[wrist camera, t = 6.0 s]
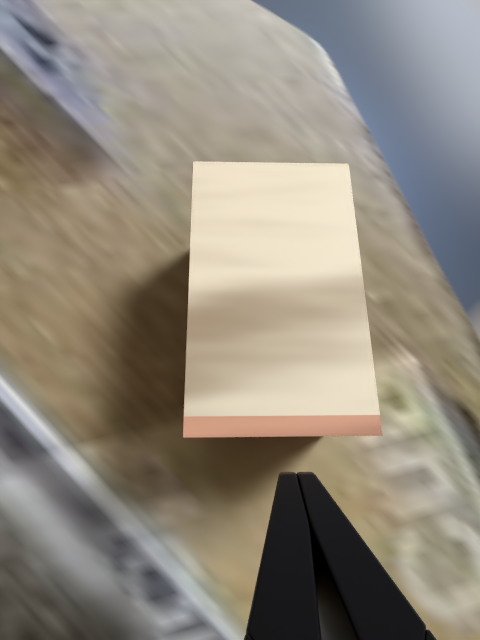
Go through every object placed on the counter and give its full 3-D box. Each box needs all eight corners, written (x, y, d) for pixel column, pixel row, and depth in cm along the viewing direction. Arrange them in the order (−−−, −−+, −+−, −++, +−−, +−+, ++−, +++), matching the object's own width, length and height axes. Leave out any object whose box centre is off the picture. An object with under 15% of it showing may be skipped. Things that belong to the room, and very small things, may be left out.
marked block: (382, 435, 10) (348, 163, 13) (183, 437, 10) (193, 161, 13) (327, 431, 16) (312, 242, 19) (199, 433, 16) (204, 241, 19)
